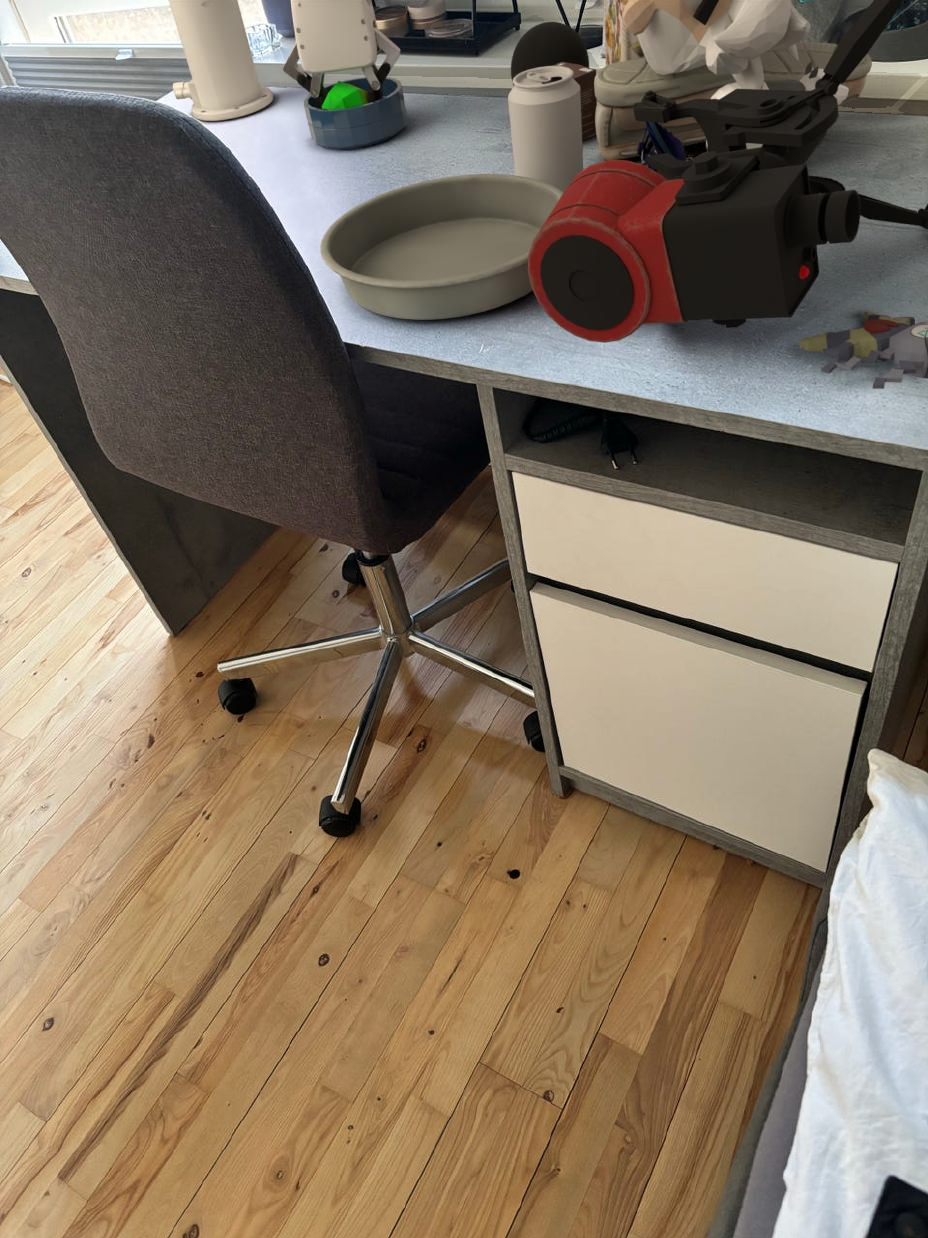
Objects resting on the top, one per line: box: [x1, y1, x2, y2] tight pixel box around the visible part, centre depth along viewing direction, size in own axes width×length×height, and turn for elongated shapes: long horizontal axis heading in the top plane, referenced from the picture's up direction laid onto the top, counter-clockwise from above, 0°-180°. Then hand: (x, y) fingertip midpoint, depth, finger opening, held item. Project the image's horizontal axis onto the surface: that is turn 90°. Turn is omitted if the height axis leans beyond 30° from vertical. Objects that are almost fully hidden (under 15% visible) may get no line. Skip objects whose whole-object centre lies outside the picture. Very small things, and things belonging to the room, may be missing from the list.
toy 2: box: [797, 310, 928, 390], centre depth 69 cm, size 15×4×15 cm
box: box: [553, 62, 598, 141], centre depth 111 cm, size 6×6×7 cm
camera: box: [528, 0, 928, 344], centre depth 77 cm, size 25×30×29 cm
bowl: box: [303, 76, 409, 150], centre depth 124 cm, size 13×13×5 cm
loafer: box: [594, 41, 873, 161], centre depth 103 cm, size 11×30×9 cm, turn 88°
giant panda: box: [705, 61, 850, 152], centre depth 96 cm, size 15×6×10 cm, turn 93°
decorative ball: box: [510, 21, 590, 87], centre depth 118 cm, size 10×10×10 cm
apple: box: [322, 80, 370, 109], centre depth 122 cm, size 7×6×9 cm
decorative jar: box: [604, 0, 646, 66], centre depth 107 cm, size 12×12×18 cm
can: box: [507, 66, 584, 193], centre depth 98 cm, size 8×8×12 cm
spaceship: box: [637, 122, 687, 172], centre depth 100 cm, size 7×6×5 cm
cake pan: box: [319, 173, 563, 321], centre depth 90 cm, size 25×25×4 cm
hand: (353, 121), depth 124 cm, fingers closed on apple, 6 cm apart
